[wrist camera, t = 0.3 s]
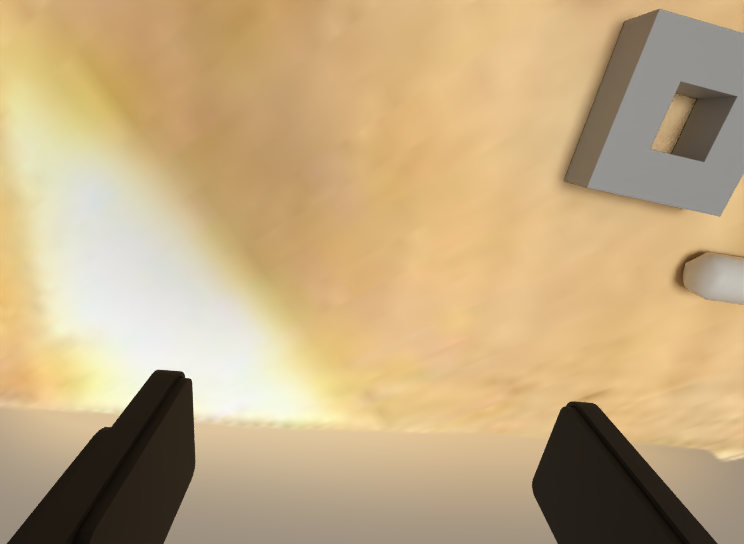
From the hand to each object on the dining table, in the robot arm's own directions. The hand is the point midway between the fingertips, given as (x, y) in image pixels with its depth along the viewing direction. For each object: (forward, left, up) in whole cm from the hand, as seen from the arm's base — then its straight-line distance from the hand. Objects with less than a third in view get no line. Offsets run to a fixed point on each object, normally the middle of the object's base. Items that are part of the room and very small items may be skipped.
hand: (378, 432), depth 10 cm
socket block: (-13, +27, -30) cm, 43 cm away
